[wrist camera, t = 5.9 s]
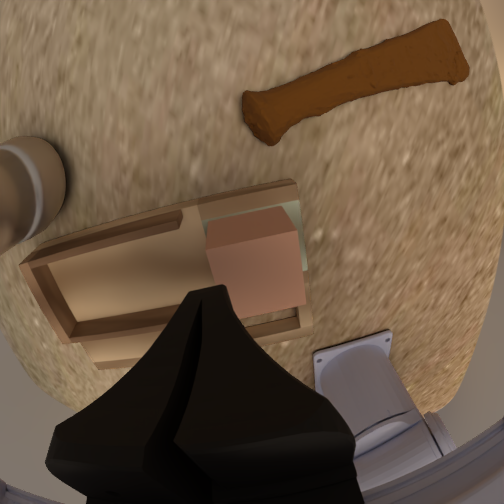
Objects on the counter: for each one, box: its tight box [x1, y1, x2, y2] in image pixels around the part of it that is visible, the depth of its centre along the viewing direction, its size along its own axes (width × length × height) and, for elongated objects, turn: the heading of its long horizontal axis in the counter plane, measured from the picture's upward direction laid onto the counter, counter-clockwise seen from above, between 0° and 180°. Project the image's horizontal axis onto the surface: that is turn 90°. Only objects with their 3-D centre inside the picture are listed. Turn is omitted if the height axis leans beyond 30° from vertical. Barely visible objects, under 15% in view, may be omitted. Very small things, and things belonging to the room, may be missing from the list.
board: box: [19, 179, 314, 370], centre depth 20 cm, size 12×19×4 cm, turn 101°
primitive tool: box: [242, 19, 469, 146], centre depth 15 cm, size 19×6×4 cm, turn 120°
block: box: [205, 206, 306, 319], centre depth 17 cm, size 4×4×4 cm
